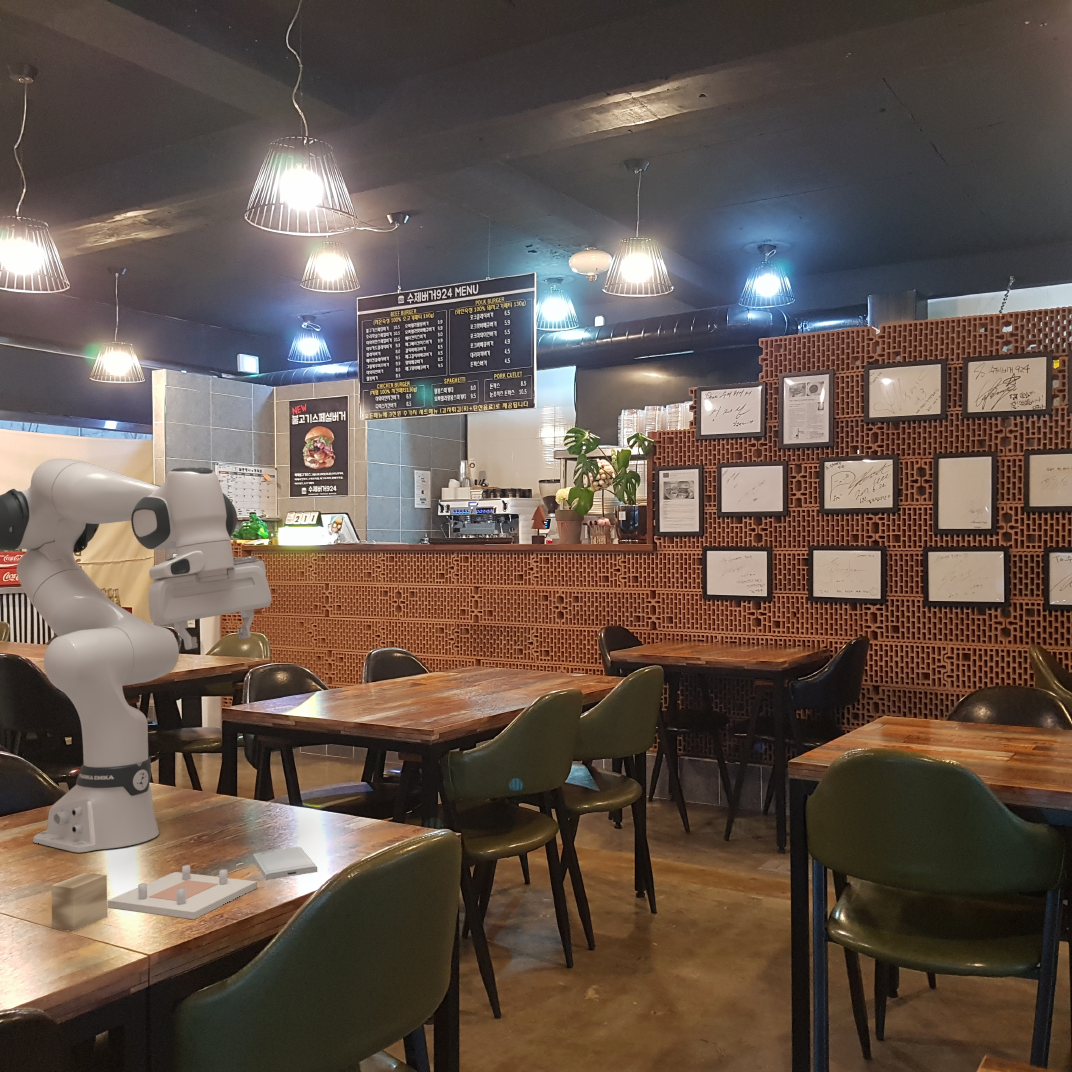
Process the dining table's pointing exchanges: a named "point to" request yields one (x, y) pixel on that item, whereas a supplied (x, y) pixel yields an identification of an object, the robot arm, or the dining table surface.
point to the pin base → (183, 894)
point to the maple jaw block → (79, 901)
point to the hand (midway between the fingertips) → (218, 643)
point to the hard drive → (284, 863)
